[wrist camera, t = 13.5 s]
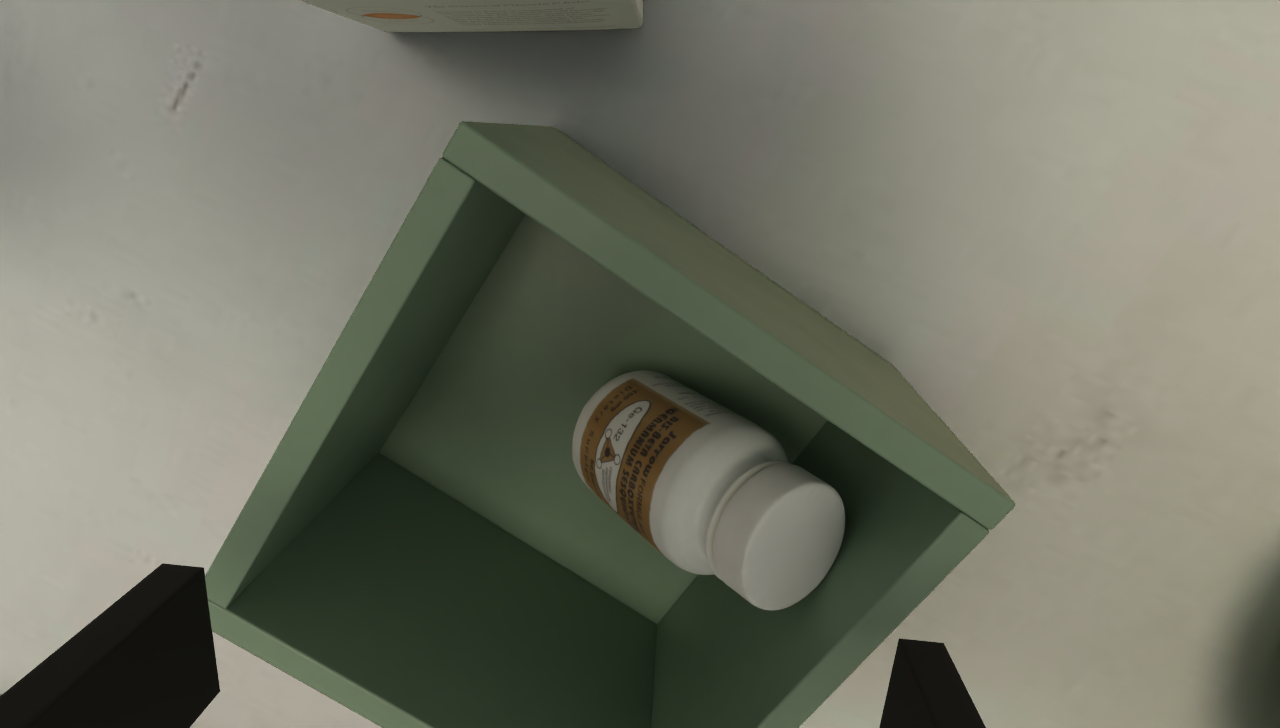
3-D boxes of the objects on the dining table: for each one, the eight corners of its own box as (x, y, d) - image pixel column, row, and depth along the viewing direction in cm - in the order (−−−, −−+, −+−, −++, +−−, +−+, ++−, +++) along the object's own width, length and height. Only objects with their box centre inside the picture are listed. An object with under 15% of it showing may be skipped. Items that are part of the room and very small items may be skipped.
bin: (551, 125, 23) (460, 119, 13) (894, 366, 24) (1018, 505, 15) (355, 451, 26) (182, 616, 17) (662, 640, 28) (650, 880, 19)
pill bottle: (584, 361, 22) (755, 465, 16) (695, 371, 24) (880, 464, 18) (553, 496, 23) (705, 643, 17) (664, 491, 25) (831, 618, 19)
